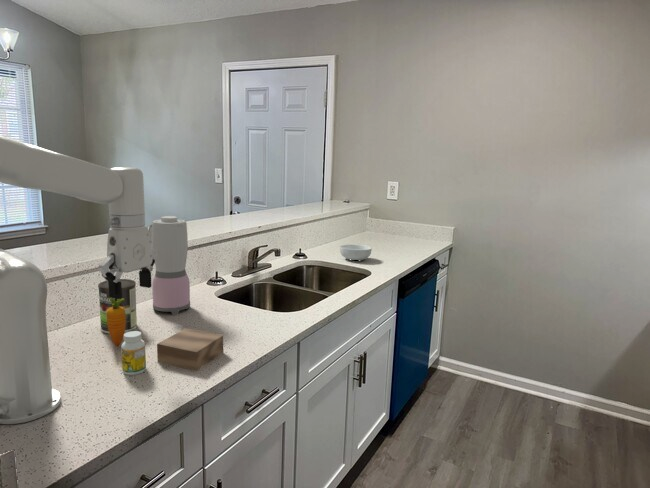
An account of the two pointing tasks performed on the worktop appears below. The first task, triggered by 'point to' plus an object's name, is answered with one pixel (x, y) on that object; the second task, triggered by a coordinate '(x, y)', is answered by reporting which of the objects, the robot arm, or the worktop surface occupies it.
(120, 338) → the carrot
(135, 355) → the supplement bottle
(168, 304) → the blender
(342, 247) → the cereal bowl
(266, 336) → the worktop surface
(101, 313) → the food can
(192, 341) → the brown cardboard box
